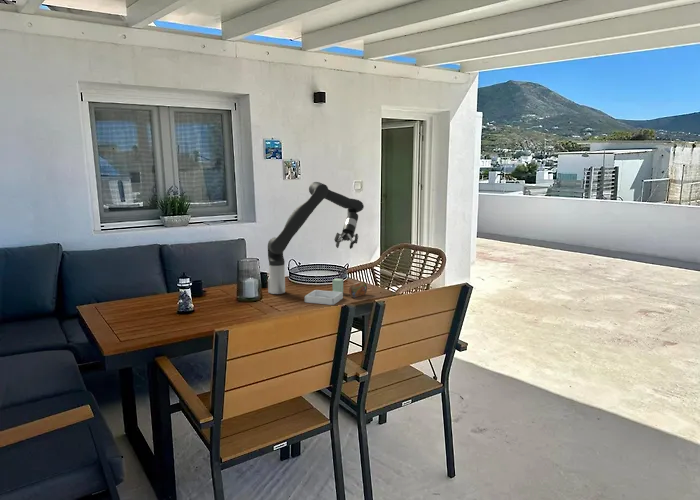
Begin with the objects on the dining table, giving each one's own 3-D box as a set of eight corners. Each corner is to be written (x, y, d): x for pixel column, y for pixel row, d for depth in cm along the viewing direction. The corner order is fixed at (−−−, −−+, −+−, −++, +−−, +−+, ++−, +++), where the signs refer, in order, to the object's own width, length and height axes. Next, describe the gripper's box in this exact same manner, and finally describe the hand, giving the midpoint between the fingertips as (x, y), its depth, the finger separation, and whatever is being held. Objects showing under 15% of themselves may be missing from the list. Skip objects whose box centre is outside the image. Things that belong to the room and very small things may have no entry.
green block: (332, 294, 286) (332, 280, 284) (335, 293, 290) (335, 278, 289) (340, 295, 284) (340, 280, 283) (343, 293, 289) (343, 279, 288)
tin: (352, 299, 275) (352, 285, 274) (348, 298, 277) (348, 284, 276) (367, 294, 287) (367, 280, 286) (363, 293, 289) (363, 280, 288)
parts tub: (304, 303, 268) (304, 296, 267) (315, 296, 282) (315, 289, 281) (333, 305, 262) (333, 298, 262) (342, 299, 276) (342, 292, 276)
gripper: (337, 222, 301) (331, 243, 293) (359, 223, 297) (353, 244, 288) (340, 230, 307) (334, 250, 298) (361, 231, 303) (356, 251, 294)
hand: (343, 247), depth 293 cm, fingers open, 8 cm apart
